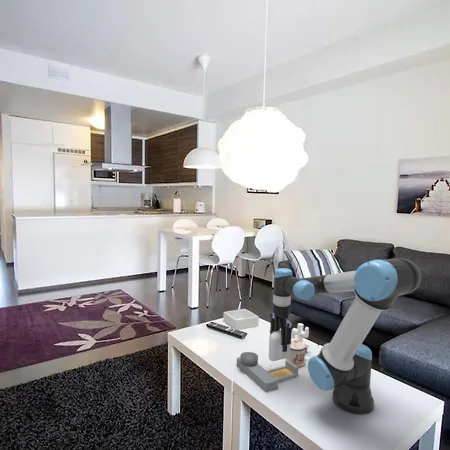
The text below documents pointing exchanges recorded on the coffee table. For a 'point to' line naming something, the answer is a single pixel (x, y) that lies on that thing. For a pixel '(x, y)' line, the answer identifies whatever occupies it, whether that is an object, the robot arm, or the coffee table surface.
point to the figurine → (300, 333)
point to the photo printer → (276, 346)
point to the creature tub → (240, 319)
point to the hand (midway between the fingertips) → (279, 355)
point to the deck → (260, 375)
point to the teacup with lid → (297, 353)
